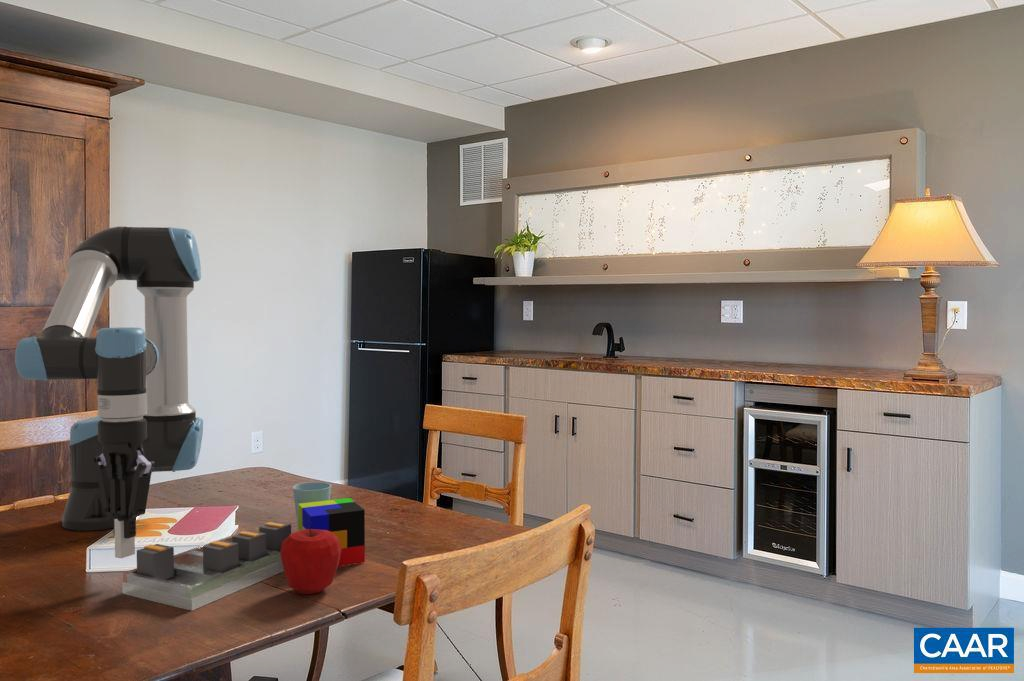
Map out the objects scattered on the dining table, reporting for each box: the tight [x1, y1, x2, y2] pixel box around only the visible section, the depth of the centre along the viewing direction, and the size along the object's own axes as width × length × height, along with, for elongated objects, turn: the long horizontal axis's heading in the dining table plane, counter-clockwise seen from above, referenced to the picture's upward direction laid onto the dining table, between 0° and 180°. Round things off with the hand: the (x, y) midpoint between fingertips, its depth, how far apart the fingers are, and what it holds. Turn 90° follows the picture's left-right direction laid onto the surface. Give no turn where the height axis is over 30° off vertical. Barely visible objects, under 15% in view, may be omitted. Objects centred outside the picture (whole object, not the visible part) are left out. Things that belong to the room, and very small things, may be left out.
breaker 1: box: [136, 543, 175, 580], centre depth 131 cm, size 4×4×5 cm
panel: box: [121, 532, 284, 612], centre depth 138 cm, size 16×26×4 cm, turn 154°
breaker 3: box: [231, 530, 266, 562], centre depth 139 cm, size 4×4×5 cm
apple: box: [280, 528, 342, 595], centre depth 132 cm, size 10×10×11 cm
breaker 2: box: [202, 539, 239, 573], centre depth 133 cm, size 4×4×5 cm
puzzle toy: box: [297, 497, 366, 567], centre depth 149 cm, size 10×10×10 cm
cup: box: [292, 481, 332, 531], centre depth 163 cm, size 8×8×10 cm
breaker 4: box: [258, 521, 292, 551], centre depth 145 cm, size 4×4×5 cm
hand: (125, 555), depth 134 cm, fingers closed
